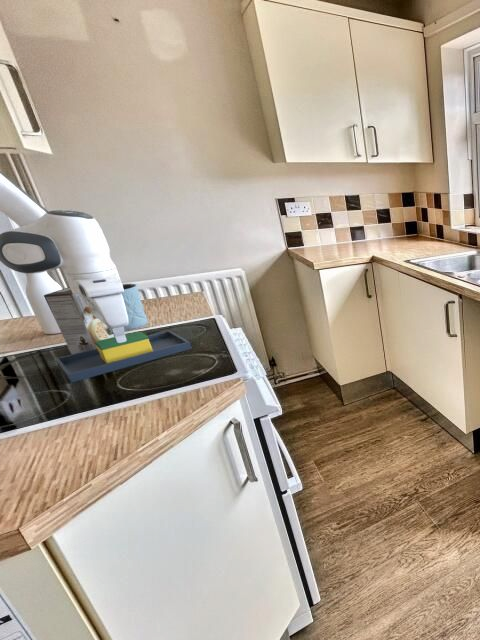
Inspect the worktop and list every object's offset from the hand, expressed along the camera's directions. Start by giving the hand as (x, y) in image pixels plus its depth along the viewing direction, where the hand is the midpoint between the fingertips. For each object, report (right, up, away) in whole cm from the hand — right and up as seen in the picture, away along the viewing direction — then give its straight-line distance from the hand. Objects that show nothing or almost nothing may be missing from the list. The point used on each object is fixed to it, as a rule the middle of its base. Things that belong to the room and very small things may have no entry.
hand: (116, 337), depth 104 cm
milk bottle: (-38, +2, +23) cm, 44 cm away
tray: (0, -5, +3) cm, 6 cm away
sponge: (0, -4, +3) cm, 5 cm away
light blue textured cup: (-20, +4, +25) cm, 32 cm away
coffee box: (-15, -3, +10) cm, 18 cm away
